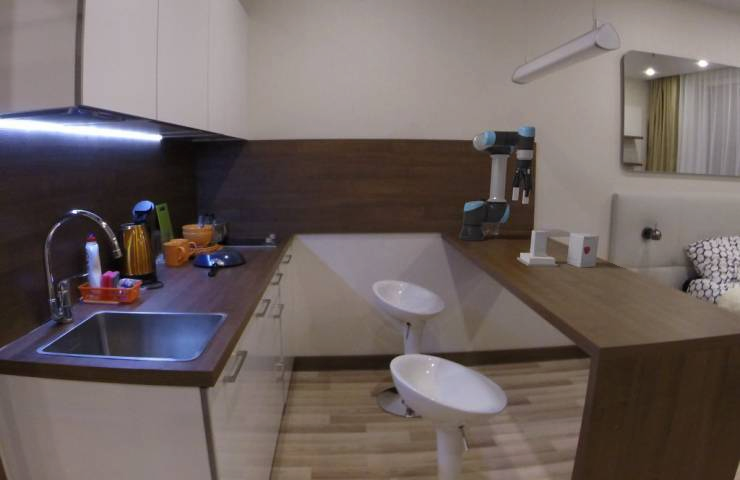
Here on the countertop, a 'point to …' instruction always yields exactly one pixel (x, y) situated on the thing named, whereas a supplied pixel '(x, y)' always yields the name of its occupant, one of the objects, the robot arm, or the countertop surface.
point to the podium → (537, 260)
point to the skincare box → (538, 243)
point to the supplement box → (582, 249)
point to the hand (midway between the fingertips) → (520, 201)
